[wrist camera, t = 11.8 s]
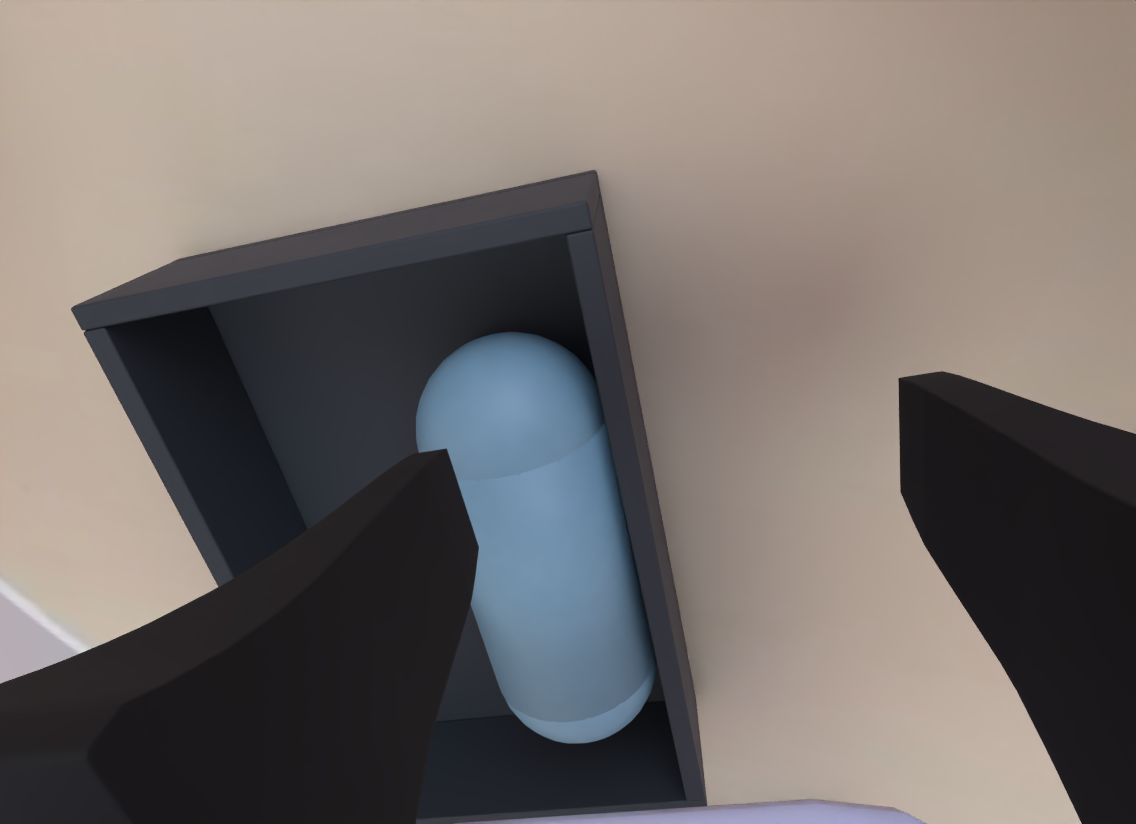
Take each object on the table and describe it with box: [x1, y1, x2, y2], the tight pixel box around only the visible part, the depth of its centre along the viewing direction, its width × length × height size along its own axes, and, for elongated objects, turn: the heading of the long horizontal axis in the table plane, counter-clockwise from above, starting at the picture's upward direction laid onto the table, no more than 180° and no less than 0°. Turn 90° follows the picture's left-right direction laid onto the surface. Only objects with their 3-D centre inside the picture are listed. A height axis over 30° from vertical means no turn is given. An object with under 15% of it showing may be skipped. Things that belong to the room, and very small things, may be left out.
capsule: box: [416, 332, 657, 743], centre depth 20 cm, size 13×5×5 cm
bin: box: [71, 170, 707, 824], centre depth 21 cm, size 19×12×4 cm, turn 12°
